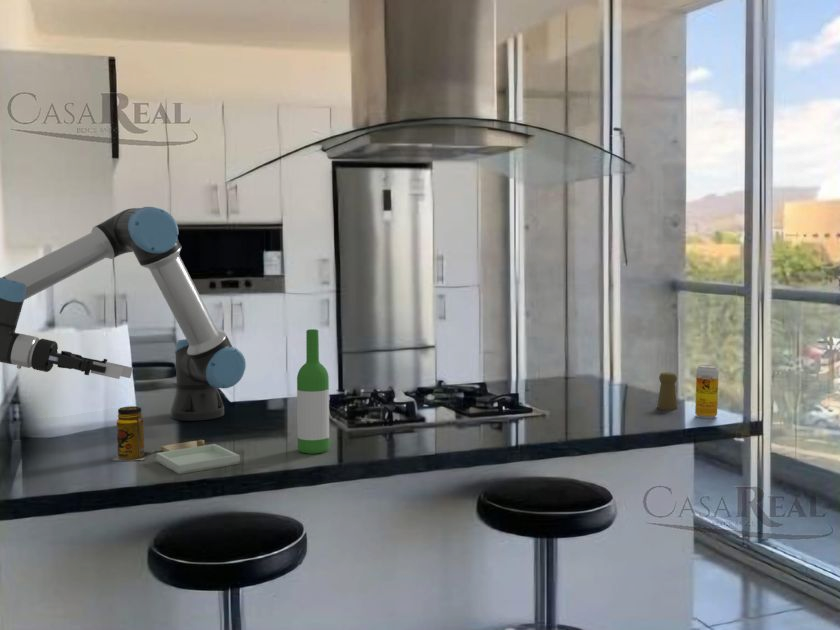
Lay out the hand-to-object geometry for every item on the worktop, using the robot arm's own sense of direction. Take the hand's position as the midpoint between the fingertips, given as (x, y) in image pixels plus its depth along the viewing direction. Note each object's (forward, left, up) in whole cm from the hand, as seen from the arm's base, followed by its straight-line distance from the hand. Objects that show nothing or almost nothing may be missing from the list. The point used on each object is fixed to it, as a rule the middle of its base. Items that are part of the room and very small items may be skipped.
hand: (126, 373), depth 203 cm
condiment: (0, +3, -20) cm, 20 cm away
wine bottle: (-37, +25, -20) cm, 49 cm away
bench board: (-12, +5, -20) cm, 24 cm away
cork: (-151, +46, -20) cm, 159 cm away
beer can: (-149, +61, -20) cm, 162 cm away
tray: (-10, +18, -20) cm, 28 cm away
